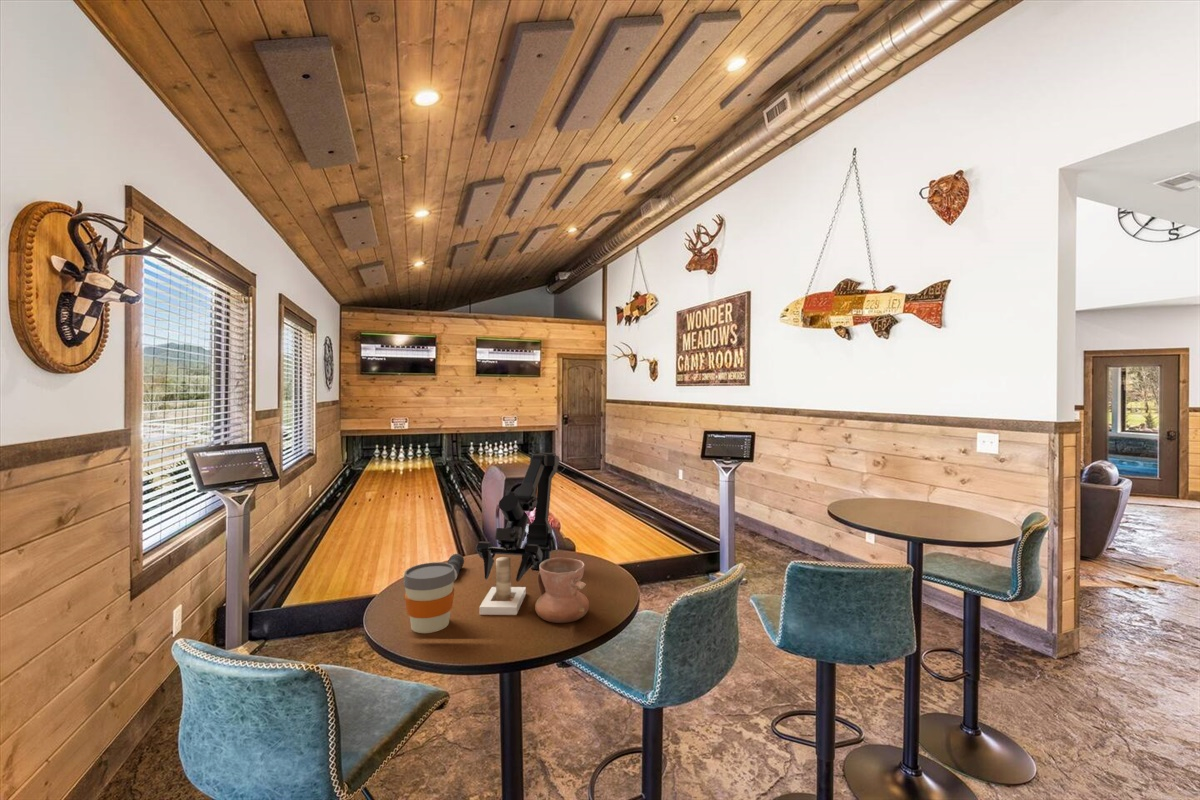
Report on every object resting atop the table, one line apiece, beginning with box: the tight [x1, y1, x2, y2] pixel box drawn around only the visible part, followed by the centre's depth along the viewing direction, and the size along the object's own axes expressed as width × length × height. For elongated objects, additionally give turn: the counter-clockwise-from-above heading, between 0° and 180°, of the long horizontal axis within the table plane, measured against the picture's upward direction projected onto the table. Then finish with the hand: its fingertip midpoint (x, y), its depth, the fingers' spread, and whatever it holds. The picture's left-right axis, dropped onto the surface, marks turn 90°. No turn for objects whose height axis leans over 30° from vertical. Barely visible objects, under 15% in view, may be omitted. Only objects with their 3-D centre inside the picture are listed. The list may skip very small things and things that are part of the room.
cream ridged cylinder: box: [495, 556, 512, 601], centre depth 144 cm, size 4×4×12 cm
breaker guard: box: [478, 586, 527, 616], centre depth 144 cm, size 14×10×3 cm
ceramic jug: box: [534, 557, 590, 624], centre depth 138 cm, size 18×14×14 cm
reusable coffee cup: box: [403, 561, 456, 634], centre depth 131 cm, size 13×13×15 cm
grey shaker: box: [447, 553, 465, 581], centre depth 170 cm, size 15×5×5 cm, turn 5°
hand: (501, 580), depth 142 cm, fingers open, 9 cm apart
